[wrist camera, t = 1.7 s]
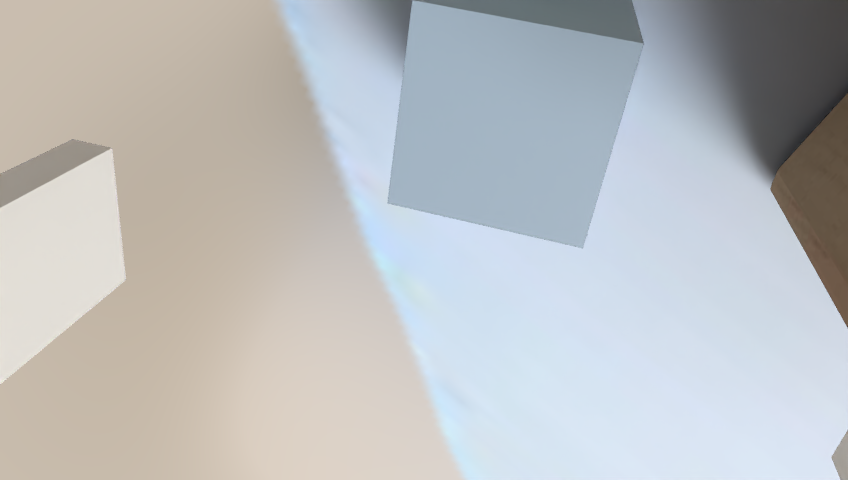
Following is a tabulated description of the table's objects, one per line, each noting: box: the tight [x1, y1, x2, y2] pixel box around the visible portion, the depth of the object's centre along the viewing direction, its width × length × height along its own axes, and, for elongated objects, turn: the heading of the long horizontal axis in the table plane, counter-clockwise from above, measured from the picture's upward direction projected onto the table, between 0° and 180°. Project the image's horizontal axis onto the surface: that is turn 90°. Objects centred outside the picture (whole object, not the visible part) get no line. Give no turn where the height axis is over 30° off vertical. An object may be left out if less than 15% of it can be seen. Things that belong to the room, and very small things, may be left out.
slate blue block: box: [387, 0, 644, 248], centre depth 22 cm, size 6×6×9 cm
